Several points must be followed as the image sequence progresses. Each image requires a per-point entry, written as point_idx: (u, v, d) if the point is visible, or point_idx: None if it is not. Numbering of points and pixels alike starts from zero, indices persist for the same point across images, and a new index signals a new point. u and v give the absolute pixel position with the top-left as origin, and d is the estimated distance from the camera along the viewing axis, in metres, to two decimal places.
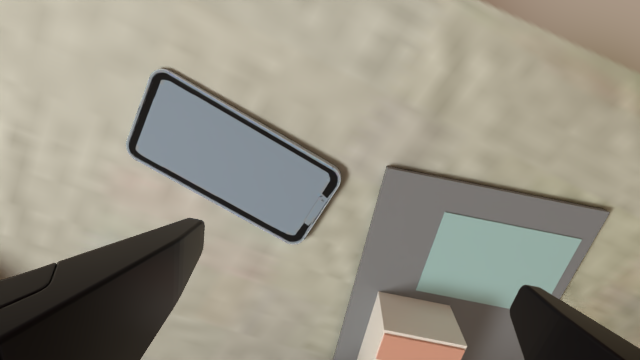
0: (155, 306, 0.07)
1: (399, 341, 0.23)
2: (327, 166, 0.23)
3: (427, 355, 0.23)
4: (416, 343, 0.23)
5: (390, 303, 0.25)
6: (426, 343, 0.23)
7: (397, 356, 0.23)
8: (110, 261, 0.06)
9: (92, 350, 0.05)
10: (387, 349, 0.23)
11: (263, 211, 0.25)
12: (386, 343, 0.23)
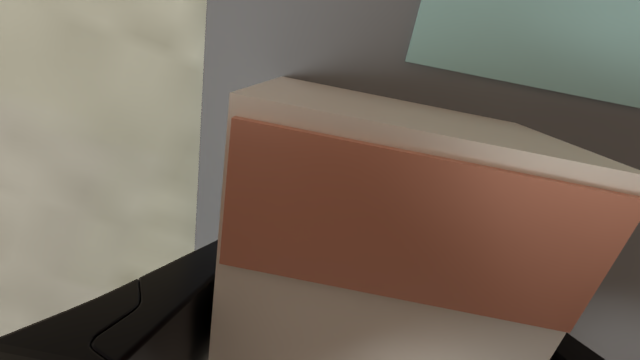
0: None
1: (311, 157, 0.04)
2: None
3: (450, 235, 0.05)
4: (397, 168, 0.04)
5: (310, 86, 0.07)
6: (450, 164, 0.04)
7: (311, 246, 0.05)
8: (187, 276, 0.06)
9: None
10: (259, 209, 0.05)
11: None
12: (249, 173, 0.05)
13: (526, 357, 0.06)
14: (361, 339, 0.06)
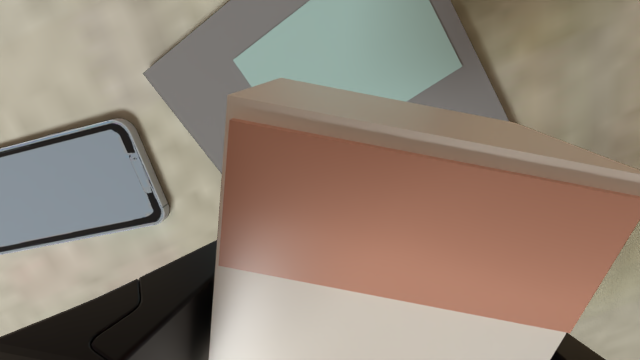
0: None
1: (309, 158, 0.04)
2: (103, 124, 0.20)
3: (449, 236, 0.05)
4: (396, 169, 0.04)
5: (309, 88, 0.07)
6: (448, 165, 0.04)
7: (310, 247, 0.05)
8: (187, 276, 0.06)
9: None
10: (258, 211, 0.05)
11: (111, 213, 0.22)
12: (248, 175, 0.05)
13: (526, 357, 0.06)
14: (361, 340, 0.06)
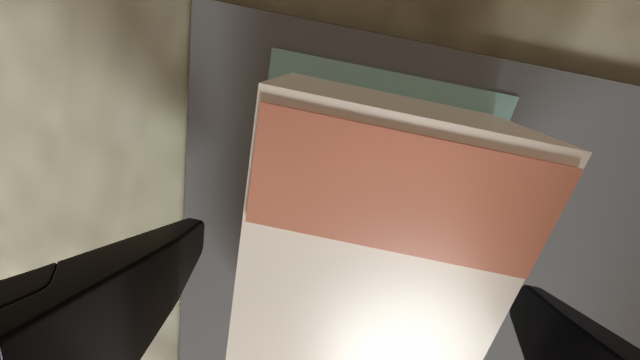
0: (155, 306, 0.07)
1: (321, 133, 0.06)
2: None
3: (431, 197, 0.06)
4: (388, 143, 0.06)
5: (318, 81, 0.08)
6: (429, 140, 0.06)
7: (320, 206, 0.06)
8: (110, 261, 0.06)
9: (92, 350, 0.05)
10: (279, 175, 0.06)
11: None
12: (272, 146, 0.06)
13: (493, 302, 0.07)
14: (359, 287, 0.07)
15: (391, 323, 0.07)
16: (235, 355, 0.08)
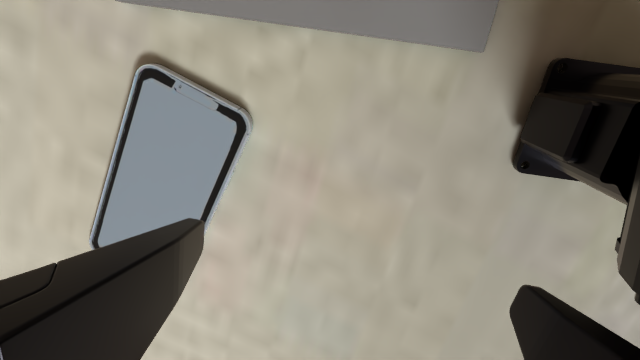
0: (155, 306, 0.07)
1: None
2: (135, 82, 0.19)
3: None
4: None
5: None
6: None
7: None
8: (110, 261, 0.06)
9: (92, 350, 0.05)
10: None
11: (211, 160, 0.20)
12: None
13: None
14: None
15: None
16: None
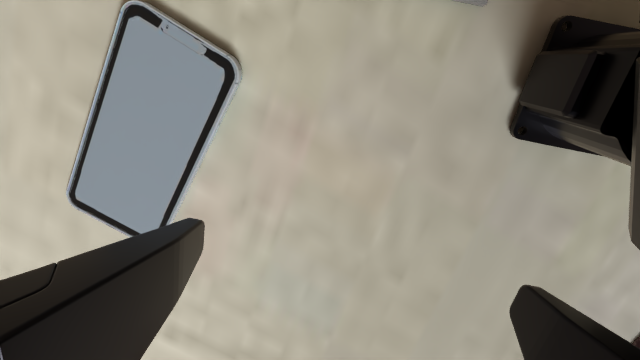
0: (155, 306, 0.07)
1: None
2: (120, 19, 0.18)
3: None
4: None
5: None
6: None
7: None
8: (110, 261, 0.06)
9: (92, 350, 0.05)
10: None
11: (196, 110, 0.19)
12: None
13: None
14: None
15: None
16: None
